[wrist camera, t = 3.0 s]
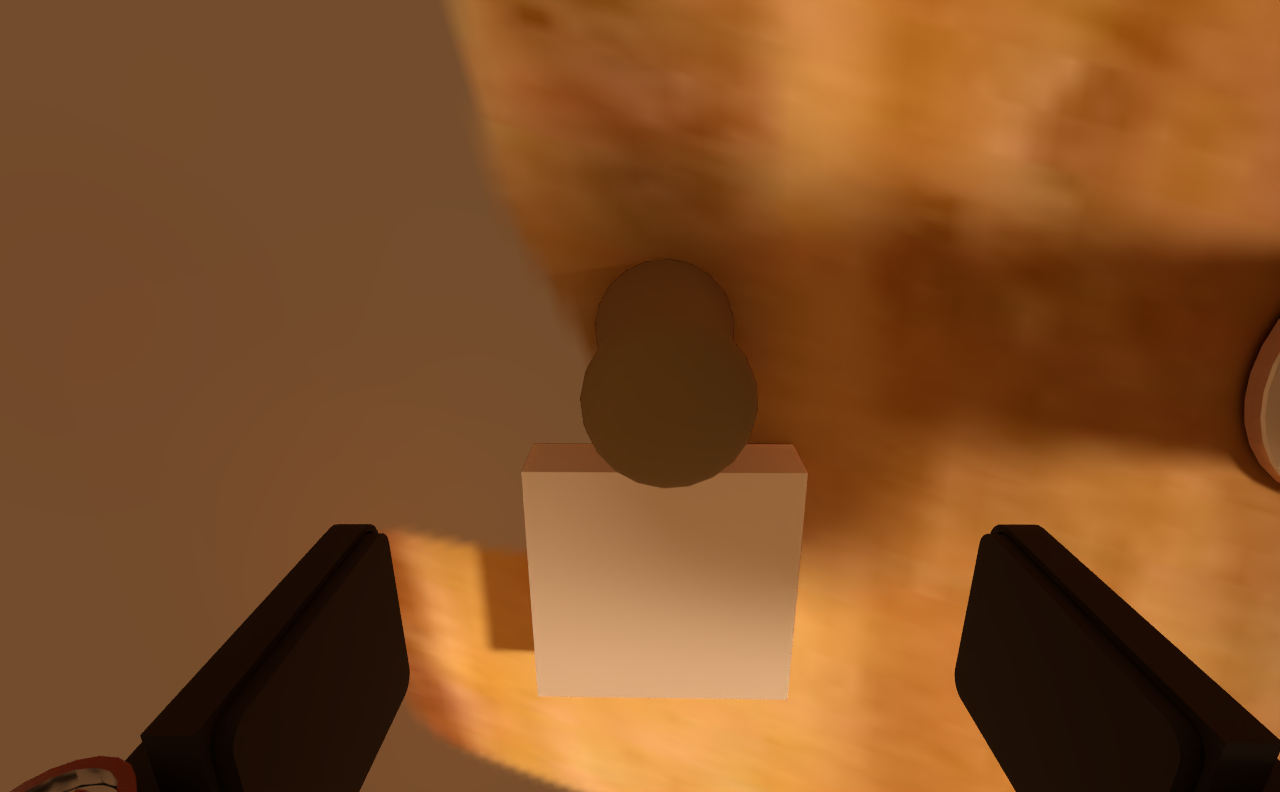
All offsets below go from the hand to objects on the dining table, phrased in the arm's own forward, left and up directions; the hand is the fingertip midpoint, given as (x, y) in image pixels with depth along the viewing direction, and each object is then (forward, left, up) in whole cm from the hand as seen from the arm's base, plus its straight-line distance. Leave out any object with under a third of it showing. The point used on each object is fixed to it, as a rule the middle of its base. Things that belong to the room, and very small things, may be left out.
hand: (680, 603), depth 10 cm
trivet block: (+9, +7, -18) cm, 22 cm away
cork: (0, 0, -19) cm, 19 cm away
